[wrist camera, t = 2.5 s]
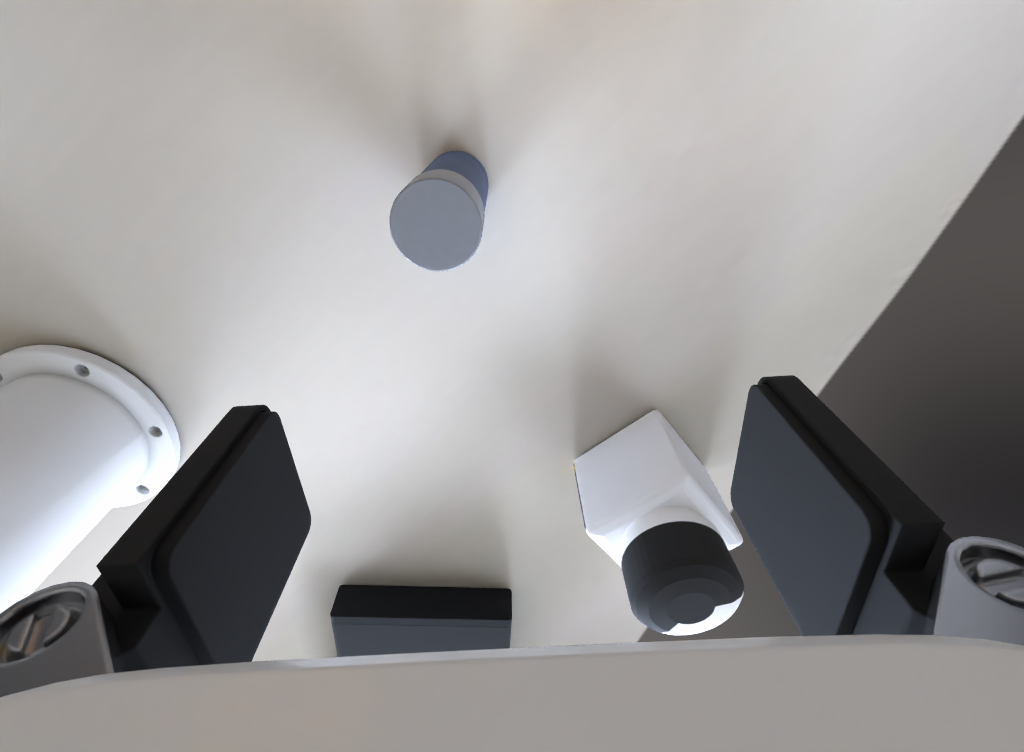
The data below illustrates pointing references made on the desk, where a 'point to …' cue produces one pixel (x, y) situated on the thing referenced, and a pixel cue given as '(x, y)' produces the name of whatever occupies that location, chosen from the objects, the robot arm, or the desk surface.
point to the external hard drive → (419, 619)
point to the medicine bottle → (661, 527)
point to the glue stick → (441, 213)
